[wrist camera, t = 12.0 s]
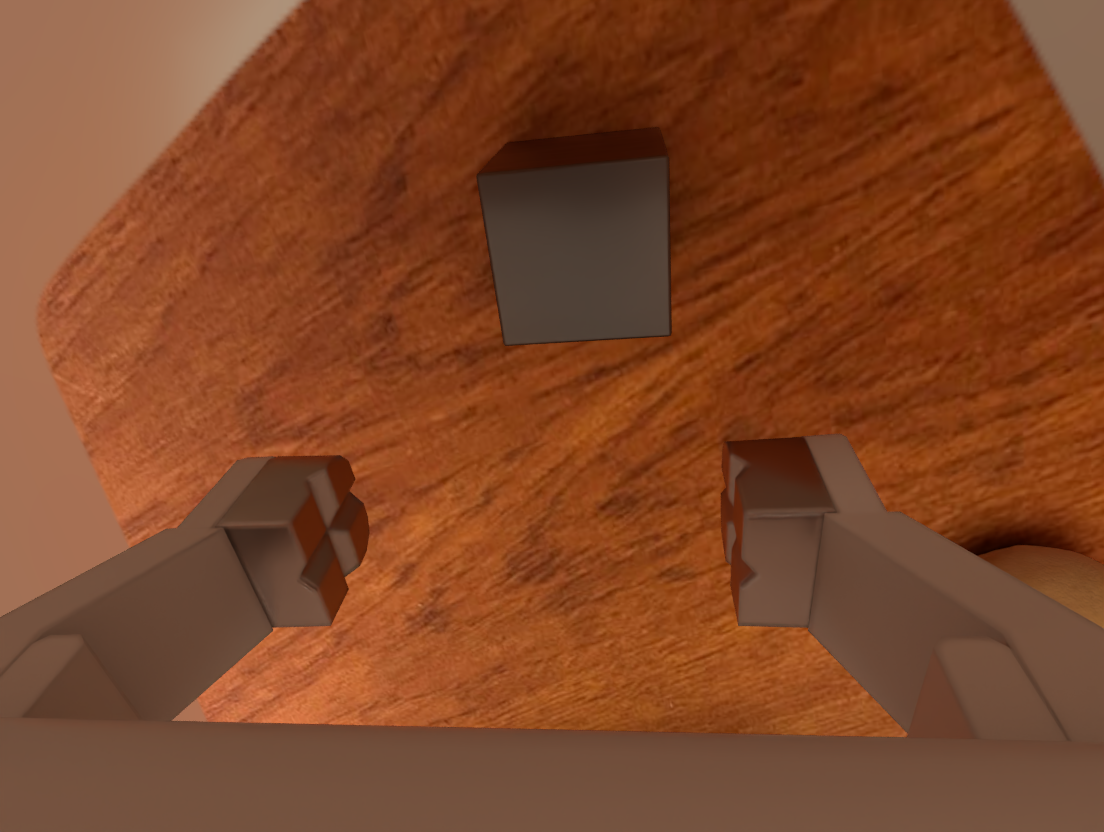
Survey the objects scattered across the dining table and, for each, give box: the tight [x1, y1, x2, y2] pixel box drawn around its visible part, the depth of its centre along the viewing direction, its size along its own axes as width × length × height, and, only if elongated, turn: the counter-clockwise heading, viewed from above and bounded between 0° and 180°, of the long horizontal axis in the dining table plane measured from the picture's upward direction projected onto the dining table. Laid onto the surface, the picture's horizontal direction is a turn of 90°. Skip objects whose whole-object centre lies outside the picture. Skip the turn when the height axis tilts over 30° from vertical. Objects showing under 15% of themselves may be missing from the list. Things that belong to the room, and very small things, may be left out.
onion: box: [978, 545, 1104, 628], centre depth 26 cm, size 8×8×7 cm
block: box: [476, 127, 672, 346], centre depth 20 cm, size 5×5×5 cm
